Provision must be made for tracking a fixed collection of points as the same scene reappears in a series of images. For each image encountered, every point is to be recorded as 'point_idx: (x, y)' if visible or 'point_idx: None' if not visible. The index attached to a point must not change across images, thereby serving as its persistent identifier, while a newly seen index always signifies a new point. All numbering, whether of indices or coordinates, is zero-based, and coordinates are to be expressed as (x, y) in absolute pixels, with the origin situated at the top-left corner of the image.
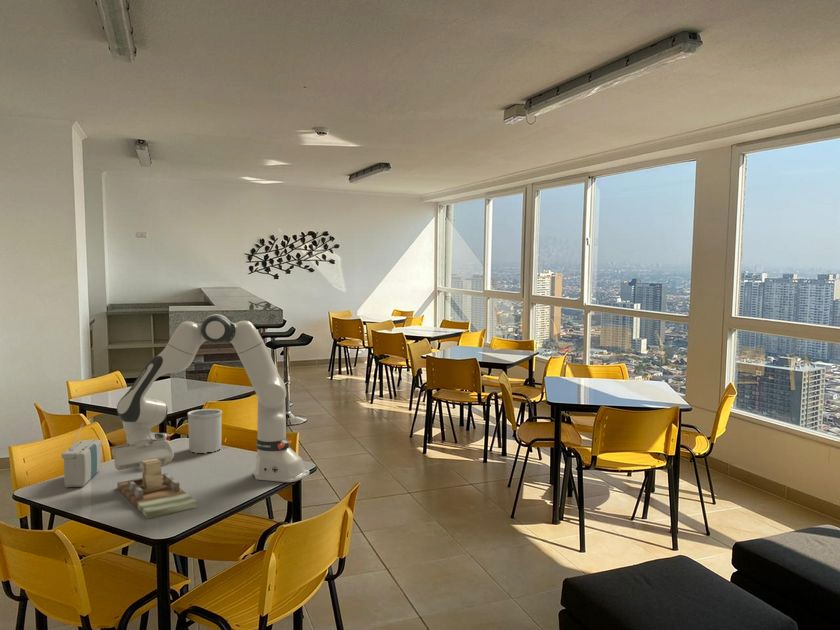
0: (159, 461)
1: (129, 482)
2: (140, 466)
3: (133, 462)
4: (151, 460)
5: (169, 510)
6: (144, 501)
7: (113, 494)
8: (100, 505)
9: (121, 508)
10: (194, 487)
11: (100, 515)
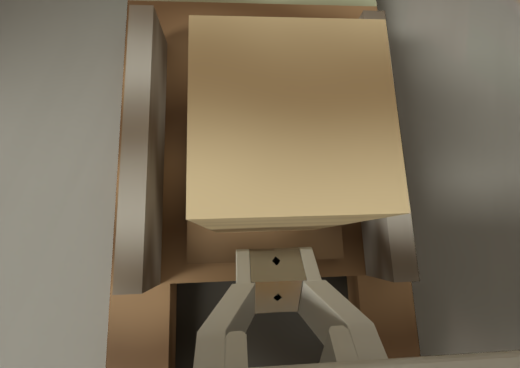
0: (204, 39)
1: (412, 242)
2: (366, 321)
3: (488, 359)
4: (286, 158)
5: None
6: (345, 11)
7: (443, 322)
8: (510, 179)
9: (427, 80)
10: (23, 161)
11: (511, 52)
